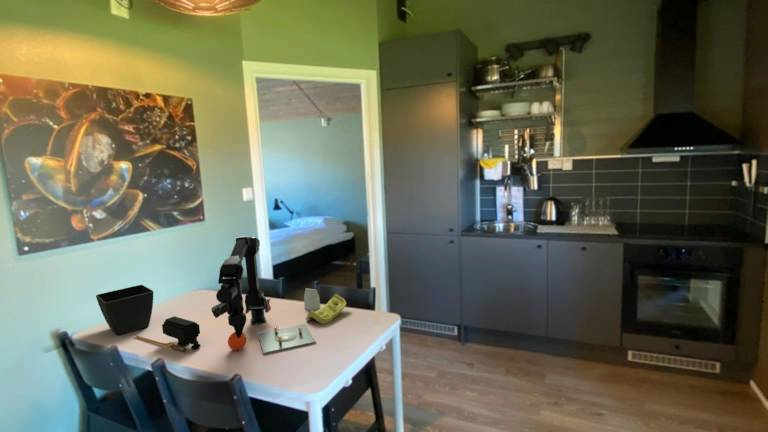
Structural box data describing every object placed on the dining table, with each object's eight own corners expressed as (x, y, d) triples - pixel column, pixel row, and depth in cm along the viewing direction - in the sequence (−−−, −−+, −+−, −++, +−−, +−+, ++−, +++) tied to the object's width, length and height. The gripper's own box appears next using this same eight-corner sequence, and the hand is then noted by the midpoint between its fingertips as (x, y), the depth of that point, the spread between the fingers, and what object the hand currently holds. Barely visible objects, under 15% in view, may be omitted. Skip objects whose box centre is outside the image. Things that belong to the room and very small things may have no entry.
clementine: (248, 343, 166) (246, 326, 165) (251, 349, 159) (250, 332, 159) (227, 348, 162) (225, 330, 161) (230, 355, 156) (228, 337, 155)
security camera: (190, 352, 159) (187, 328, 158) (163, 343, 169) (160, 320, 168) (206, 345, 165) (203, 322, 164) (179, 337, 175) (176, 314, 173)
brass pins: (274, 333, 171) (274, 327, 171) (299, 328, 175) (298, 322, 175) (279, 344, 161) (278, 337, 160) (304, 339, 165) (304, 332, 164)
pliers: (278, 299, 220) (278, 294, 220) (268, 312, 200) (267, 307, 200) (257, 300, 220) (257, 295, 220) (244, 314, 200) (244, 308, 200)
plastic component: (325, 320, 179) (308, 308, 183) (321, 333, 182) (304, 321, 186) (350, 302, 196) (333, 292, 200) (345, 314, 199) (329, 304, 203)
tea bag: (315, 311, 198) (314, 291, 197) (304, 309, 201) (303, 289, 200) (320, 308, 201) (318, 288, 200) (309, 306, 205) (308, 287, 203)
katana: (137, 339, 178) (136, 333, 178) (187, 352, 160) (186, 345, 160) (133, 340, 177) (133, 334, 176) (183, 353, 159) (182, 346, 159)
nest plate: (257, 335, 173) (257, 333, 173) (304, 325, 180) (304, 323, 180) (263, 354, 155) (263, 352, 154) (315, 343, 162) (315, 341, 162)
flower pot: (100, 329, 188) (95, 294, 186) (146, 317, 201) (141, 283, 199) (110, 340, 175) (104, 302, 172) (158, 326, 188) (154, 291, 186)
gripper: (211, 291, 163) (215, 328, 165) (211, 305, 146) (216, 347, 148) (240, 286, 167) (244, 323, 170) (244, 300, 150) (248, 340, 153)
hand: (238, 333), depth 160 cm, fingers open, 9 cm apart
